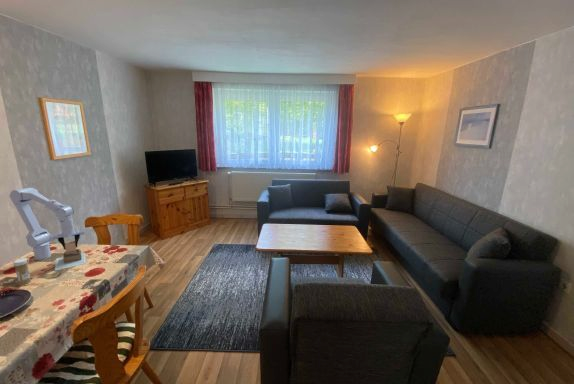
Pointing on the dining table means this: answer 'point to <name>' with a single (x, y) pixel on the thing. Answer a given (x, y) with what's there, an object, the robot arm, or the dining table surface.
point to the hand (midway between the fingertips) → (70, 247)
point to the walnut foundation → (72, 256)
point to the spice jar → (22, 271)
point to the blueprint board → (61, 265)
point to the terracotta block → (70, 246)
